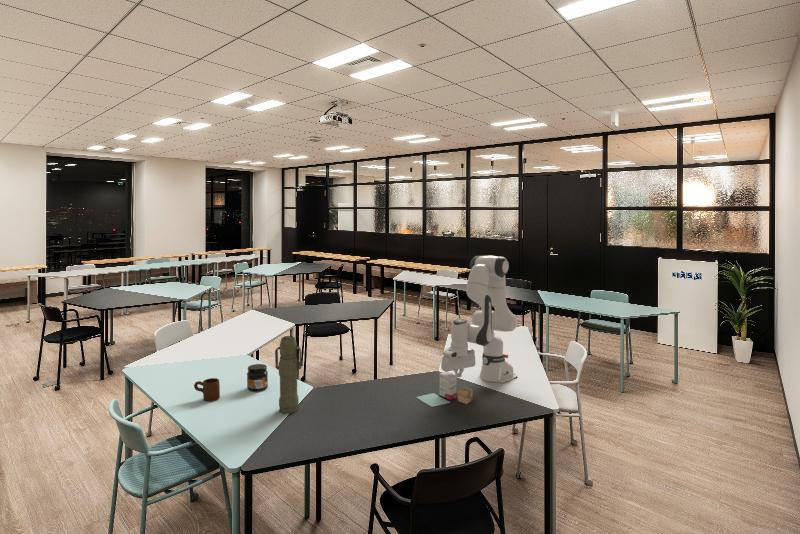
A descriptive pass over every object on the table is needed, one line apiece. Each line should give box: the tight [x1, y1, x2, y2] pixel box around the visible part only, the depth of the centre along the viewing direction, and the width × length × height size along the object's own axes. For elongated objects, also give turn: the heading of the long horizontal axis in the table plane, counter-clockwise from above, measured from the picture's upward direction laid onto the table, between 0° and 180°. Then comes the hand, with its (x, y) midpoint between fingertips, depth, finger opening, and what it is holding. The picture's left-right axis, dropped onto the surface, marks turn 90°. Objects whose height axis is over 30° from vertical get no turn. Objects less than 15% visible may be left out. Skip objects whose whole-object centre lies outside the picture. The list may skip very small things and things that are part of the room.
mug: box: [193, 377, 221, 403], centre depth 226 cm, size 12×8×9 cm, turn 96°
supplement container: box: [246, 363, 269, 393], centre depth 241 cm, size 10×10×12 cm
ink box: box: [439, 371, 458, 401], centre depth 233 cm, size 9×5×12 cm, turn 34°
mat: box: [415, 392, 451, 408], centre depth 229 cm, size 11×14×1 cm
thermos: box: [274, 335, 302, 415], centre depth 213 cm, size 9×12×35 cm
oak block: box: [457, 386, 473, 405], centre depth 228 cm, size 5×5×6 cm
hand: (458, 377), depth 236 cm, fingers closed
